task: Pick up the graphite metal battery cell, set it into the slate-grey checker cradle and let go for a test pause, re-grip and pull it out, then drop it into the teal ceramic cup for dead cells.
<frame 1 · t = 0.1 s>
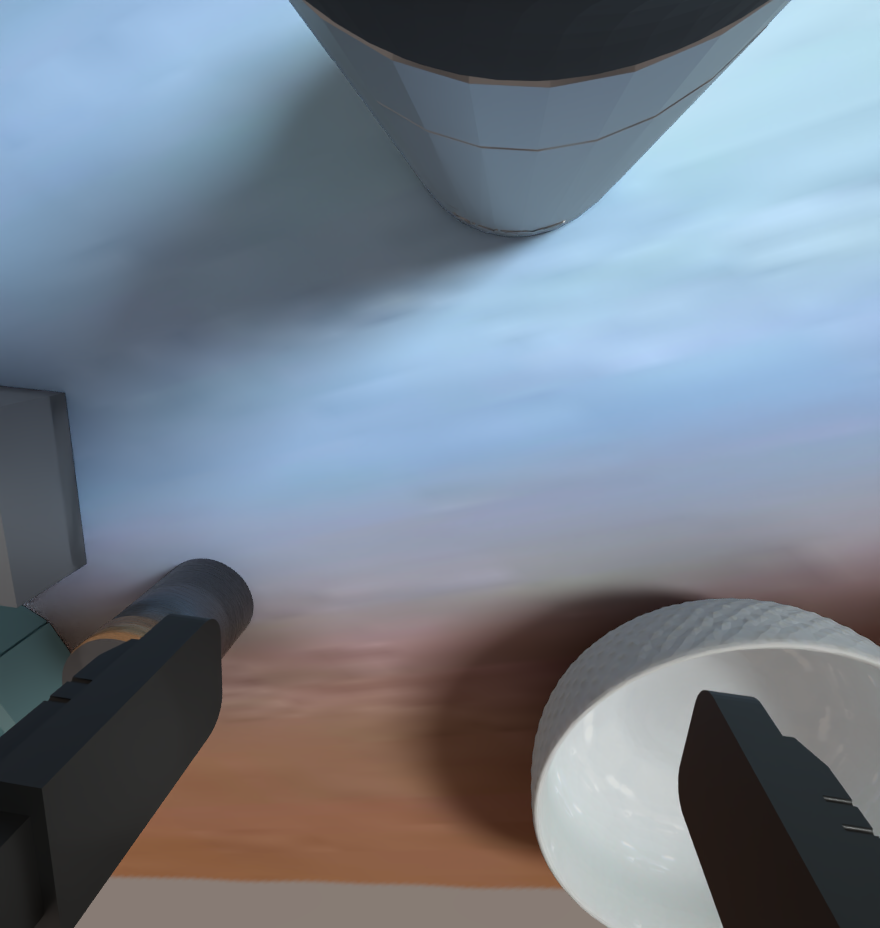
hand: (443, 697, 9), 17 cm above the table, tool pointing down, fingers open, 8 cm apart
cell: (209, 600, 30), on the table
cereal bowl: (690, 697, 29), on the table
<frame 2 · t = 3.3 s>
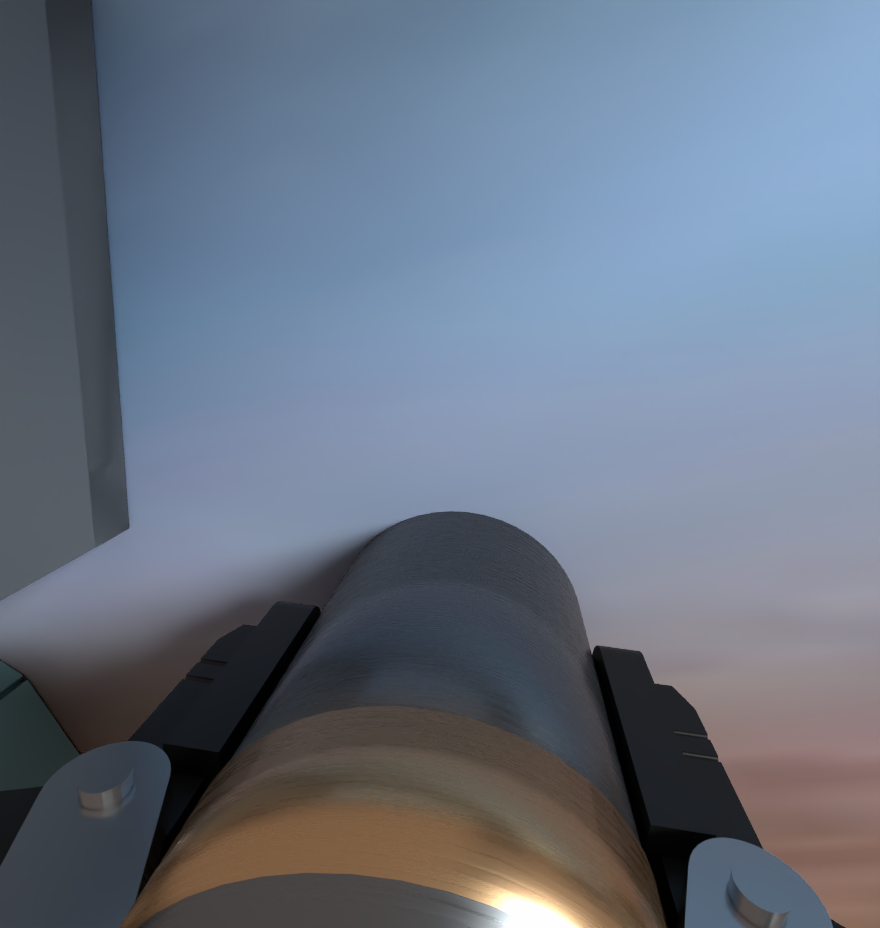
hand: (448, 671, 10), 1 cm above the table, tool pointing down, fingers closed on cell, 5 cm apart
cell: (456, 626, 11), on the table, touching gripper
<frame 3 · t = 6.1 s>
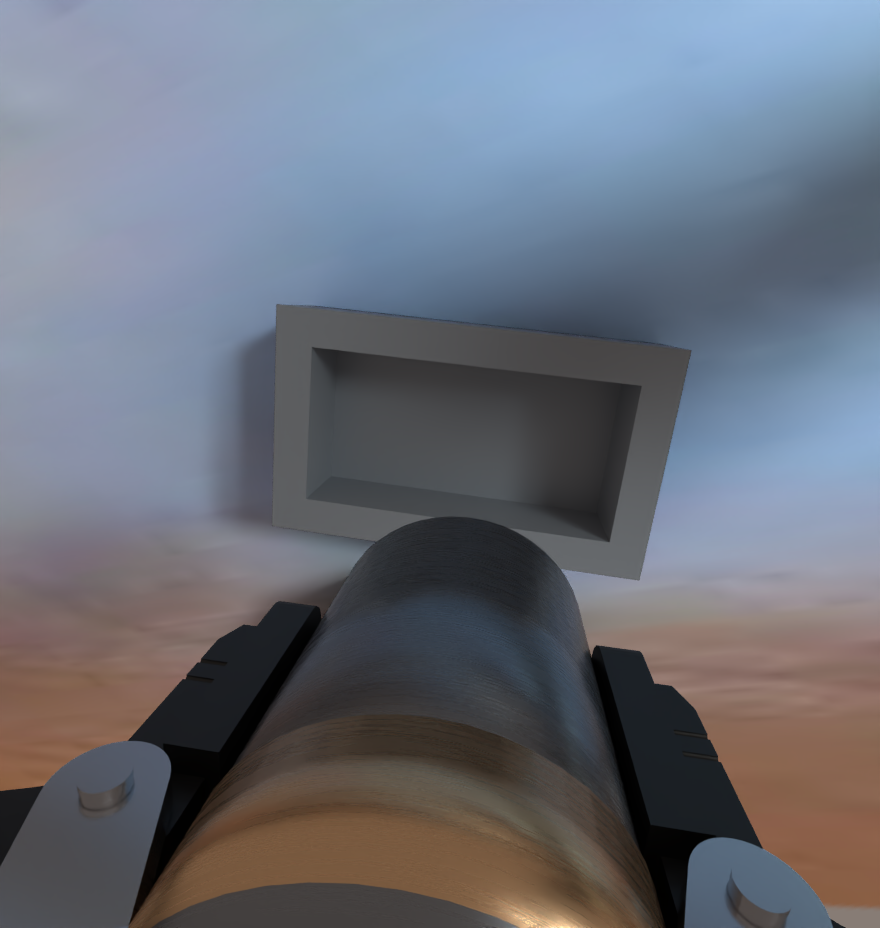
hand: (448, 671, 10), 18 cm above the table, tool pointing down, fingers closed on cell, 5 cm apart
cell: (457, 630, 11), point 16 cm above the table, touching gripper
checker cradle: (470, 424, 27), on the table
when the fingers open (3 cm above the table, at t = 9.4 s): cell stays where it is, resting on checker cradle.
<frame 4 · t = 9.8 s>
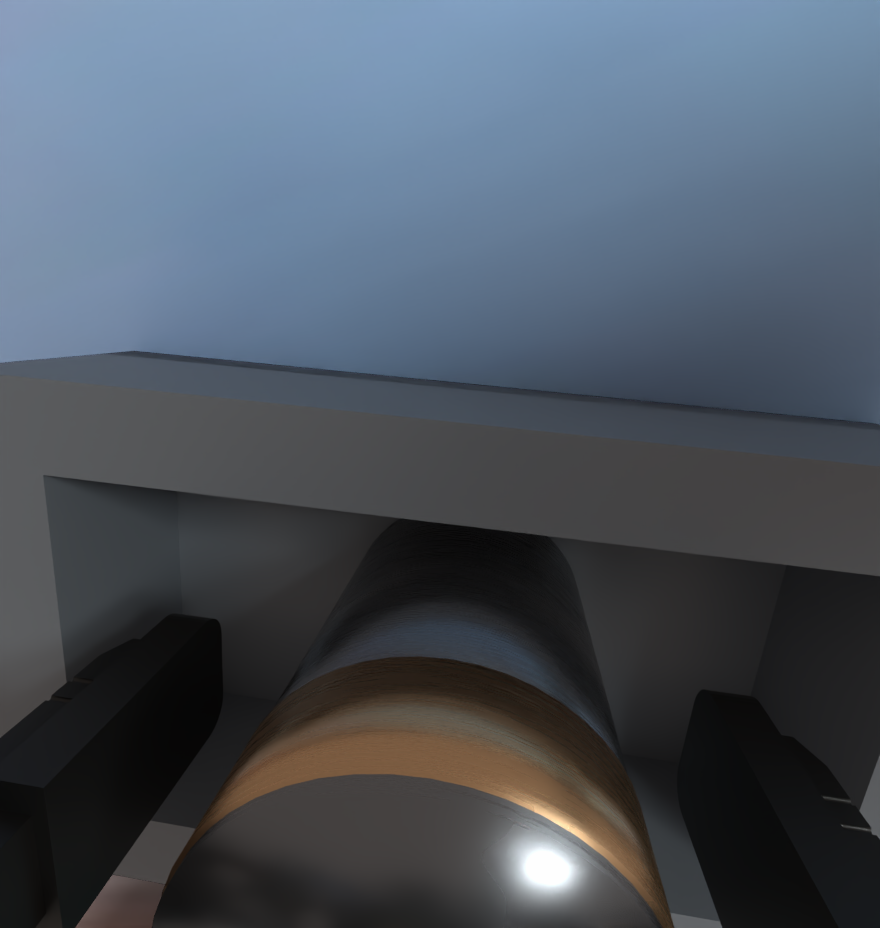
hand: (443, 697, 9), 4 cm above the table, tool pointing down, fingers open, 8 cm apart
cell: (464, 608, 12), point 1 cm above the table, touching checker cradle
checker cradle: (462, 583, 13), on the table
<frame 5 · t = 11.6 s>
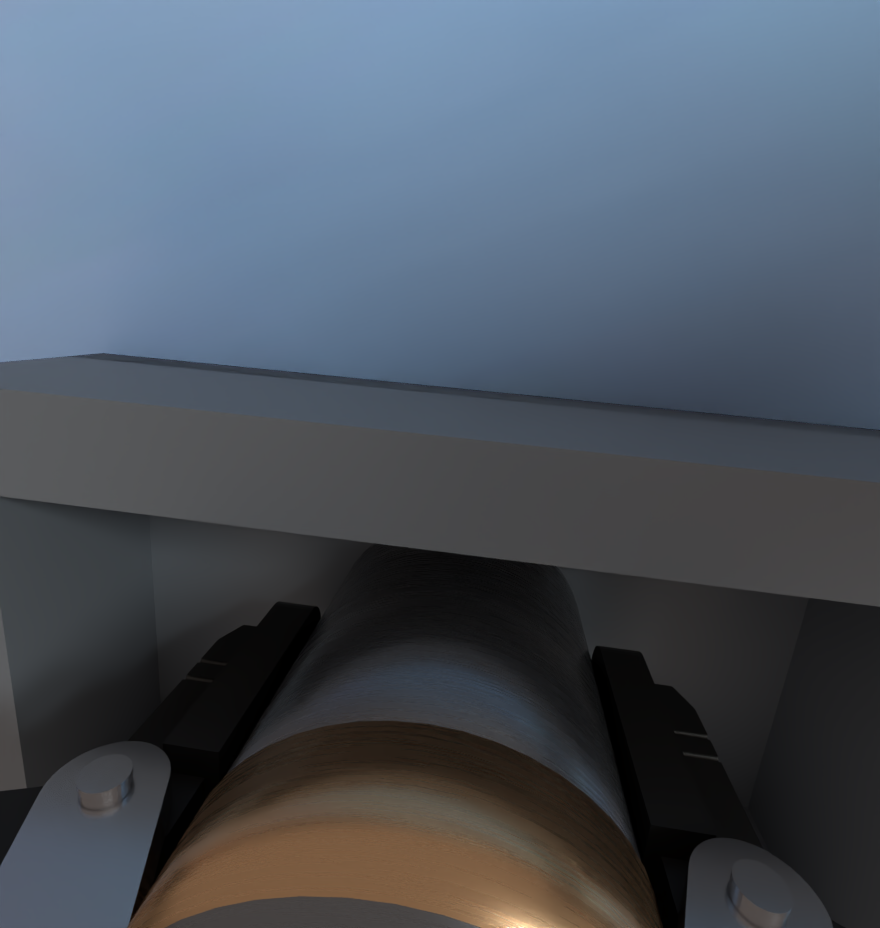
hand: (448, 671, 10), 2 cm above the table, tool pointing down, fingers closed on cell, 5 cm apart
cell: (455, 631, 11), point 1 cm above the table, touching checker cradle, gripper
checker cradle: (458, 604, 12), on the table
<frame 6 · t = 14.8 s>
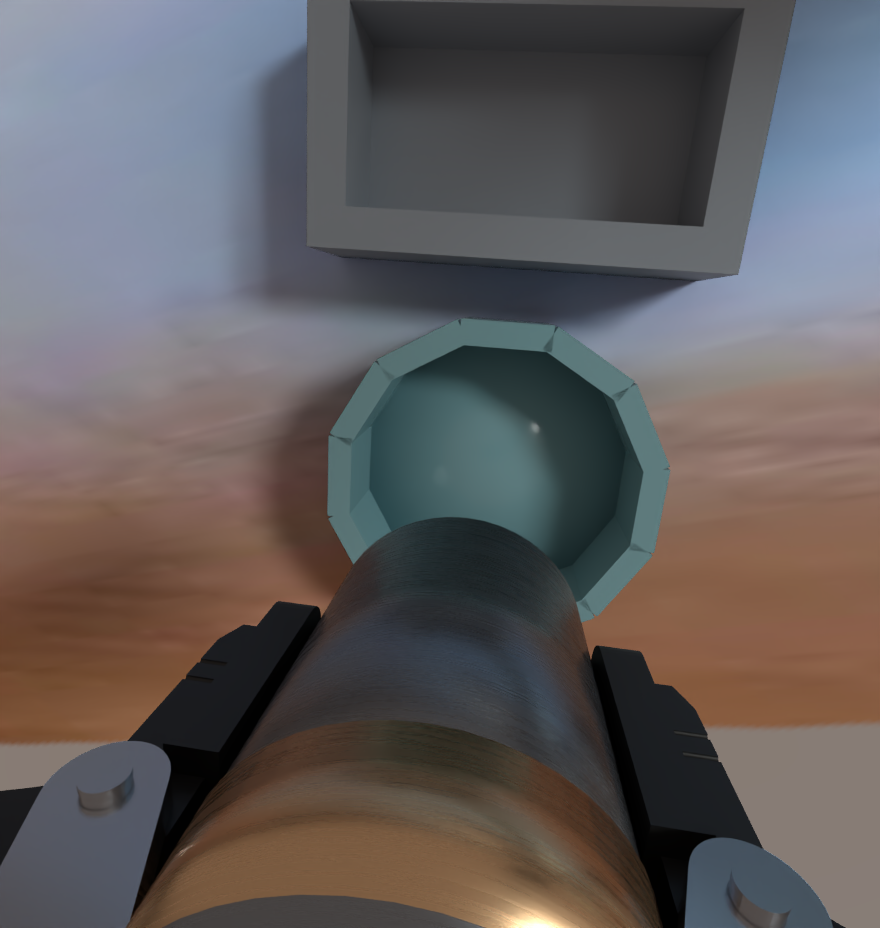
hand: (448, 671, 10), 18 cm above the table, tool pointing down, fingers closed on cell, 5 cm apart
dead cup: (493, 465, 27), on the table
cell: (455, 632, 11), point 17 cm above the table, touching gripper
checker cradle: (525, 151, 23), on the table
when the fingers open (4 cm above the table, at t = 17.9 s): cell drops 2 cm, resting on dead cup.
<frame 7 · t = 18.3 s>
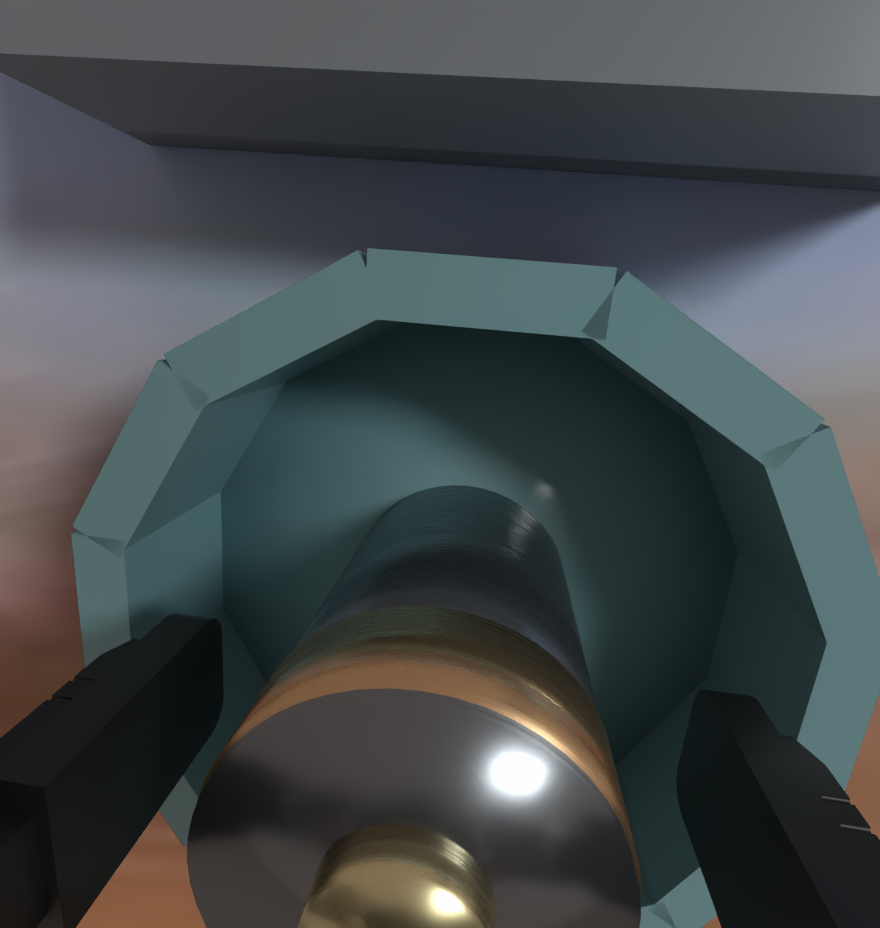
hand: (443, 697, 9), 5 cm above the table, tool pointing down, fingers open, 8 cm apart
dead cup: (464, 565, 14), on the table
cell: (458, 585, 13), point 1 cm above the table, touching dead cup
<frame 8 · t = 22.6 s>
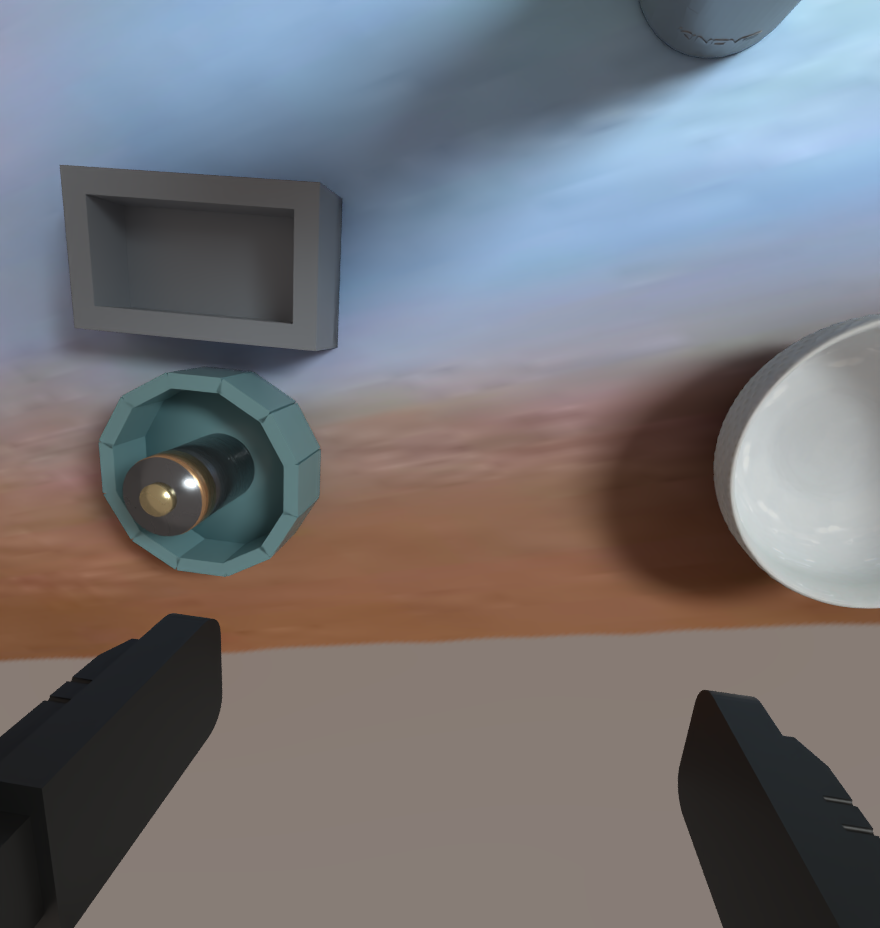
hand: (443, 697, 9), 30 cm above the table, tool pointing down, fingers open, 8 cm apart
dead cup: (229, 462, 41), on the table
cell: (222, 466, 40), point 1 cm above the table, touching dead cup
cereal bowl: (820, 442, 36), on the table
checker cradle: (226, 266, 38), on the table
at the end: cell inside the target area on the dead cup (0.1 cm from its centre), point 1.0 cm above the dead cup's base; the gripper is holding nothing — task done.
